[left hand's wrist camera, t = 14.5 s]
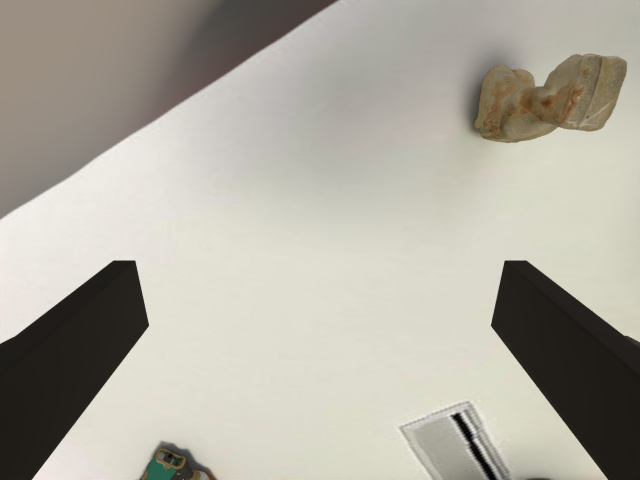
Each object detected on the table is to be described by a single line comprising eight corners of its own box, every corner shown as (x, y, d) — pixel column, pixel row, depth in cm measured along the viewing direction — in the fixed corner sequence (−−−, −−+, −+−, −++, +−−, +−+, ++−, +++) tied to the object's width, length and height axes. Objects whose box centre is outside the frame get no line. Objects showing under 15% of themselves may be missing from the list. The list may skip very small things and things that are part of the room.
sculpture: (532, 74, 37) (660, 57, 23) (507, 143, 40) (608, 165, 26) (479, 63, 37) (577, 39, 23) (457, 133, 39) (533, 150, 25)
